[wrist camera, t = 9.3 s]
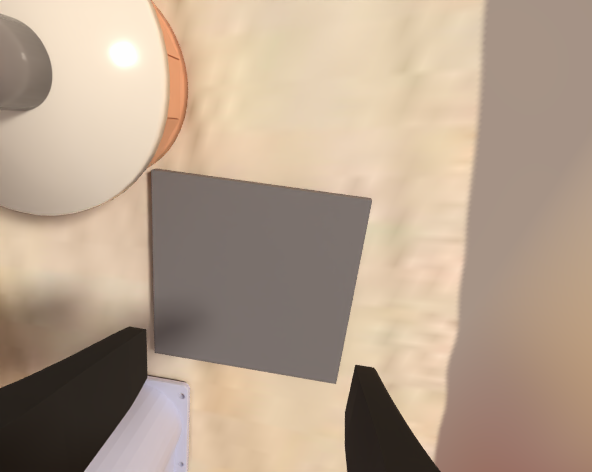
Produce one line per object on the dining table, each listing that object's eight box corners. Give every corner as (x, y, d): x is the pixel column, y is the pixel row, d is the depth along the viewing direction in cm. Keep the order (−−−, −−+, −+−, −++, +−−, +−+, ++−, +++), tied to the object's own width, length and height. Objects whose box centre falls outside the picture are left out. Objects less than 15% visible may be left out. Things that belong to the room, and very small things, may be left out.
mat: (335, 377, 23) (335, 384, 23) (158, 347, 24) (154, 352, 24) (370, 198, 19) (372, 200, 19) (156, 168, 20) (151, 169, 20)
